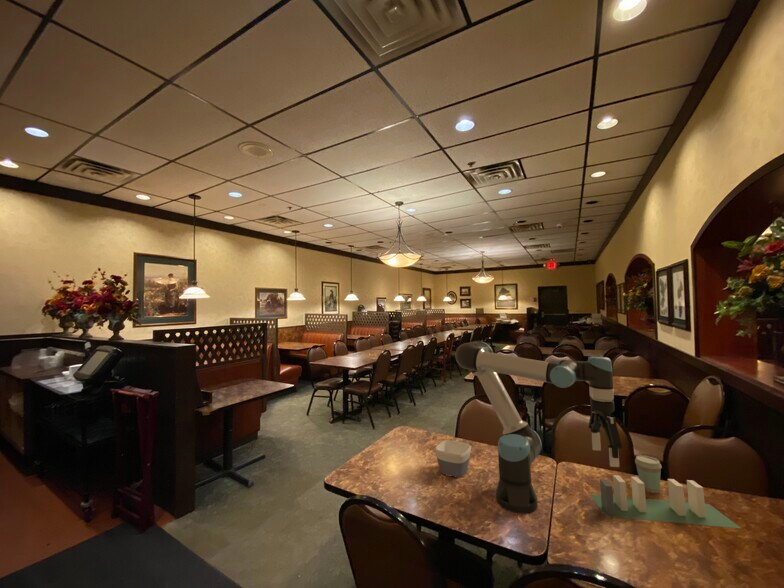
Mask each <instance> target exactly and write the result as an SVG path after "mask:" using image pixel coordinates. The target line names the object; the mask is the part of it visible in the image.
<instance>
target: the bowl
mask: <svg viewBox="0 0 784 588" xmlns="http://www.w3.org/2000/svg"><path fill="white" fill-rule="evenodd" d="M471 450H472V446H471V445H470V444H468V443H465V442H462V441H456V440H447V439H446V440H443V441H441V442H440V443H438V444H437V445H436V447H435V449H434V451H435V456H436V460H437V463H438V464H437V465H438V467H439V471H441V472H442V473H444V474H447V475H451V476H456V477H460V478H462V477H463V475H464V474H465V473H466V474H467V472H468V468H469V462H470V455H471V453H472V452H471ZM441 472H440V473H441ZM442 473H441V474H442ZM444 474H443V475H444ZM466 474H465V475H466ZM447 475H446V476H447ZM465 475H464V476H465ZM451 476H450V477H451ZM461 476H462V477H461ZM456 477H455V478H456Z"/></svg>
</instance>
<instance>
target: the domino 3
mask: <svg viewBox="0 0 784 588" xmlns="http://www.w3.org/2000/svg"><path fill="white" fill-rule="evenodd" d="M667 487H668V488H667V489H668V501H670V508H671V509H673V510H674V511H675V512H676V513H677V514H678V515H679V516H686V512H685V502H686V501H685V493H684V492H685V490H684V486H683V485H682V484H681V483H680V482H679V481H677V480H676V479H674V478H667Z"/></svg>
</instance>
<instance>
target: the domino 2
mask: <svg viewBox="0 0 784 588" xmlns="http://www.w3.org/2000/svg"><path fill="white" fill-rule="evenodd" d="M630 482H631V496H632V497H631V498H632V499H633V505H634V506H635V507H636V508H637V509H638V510H639V511H640V512H645V513H647V510H646V499H647V498H646V491H645V485H644V483H643V482H642V481H641V480H640V479H639V476H630Z"/></svg>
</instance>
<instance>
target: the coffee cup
mask: <svg viewBox="0 0 784 588" xmlns="http://www.w3.org/2000/svg"><path fill="white" fill-rule="evenodd" d="M634 463H635V467H636V471H637V475H638V476H637V477H638V478H639V479H640V480H641V481H642V482H643V483H644V485H645V492H647V493H652V494H658V493H660V492H661V491H660V490H661V489H660V488H661V487H660V486H661V469H662V468H663V467H662V464H661V461H660V460H659V459H658V458H655V457H652V456H649V455H636V457H635V459H634Z"/></svg>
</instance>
